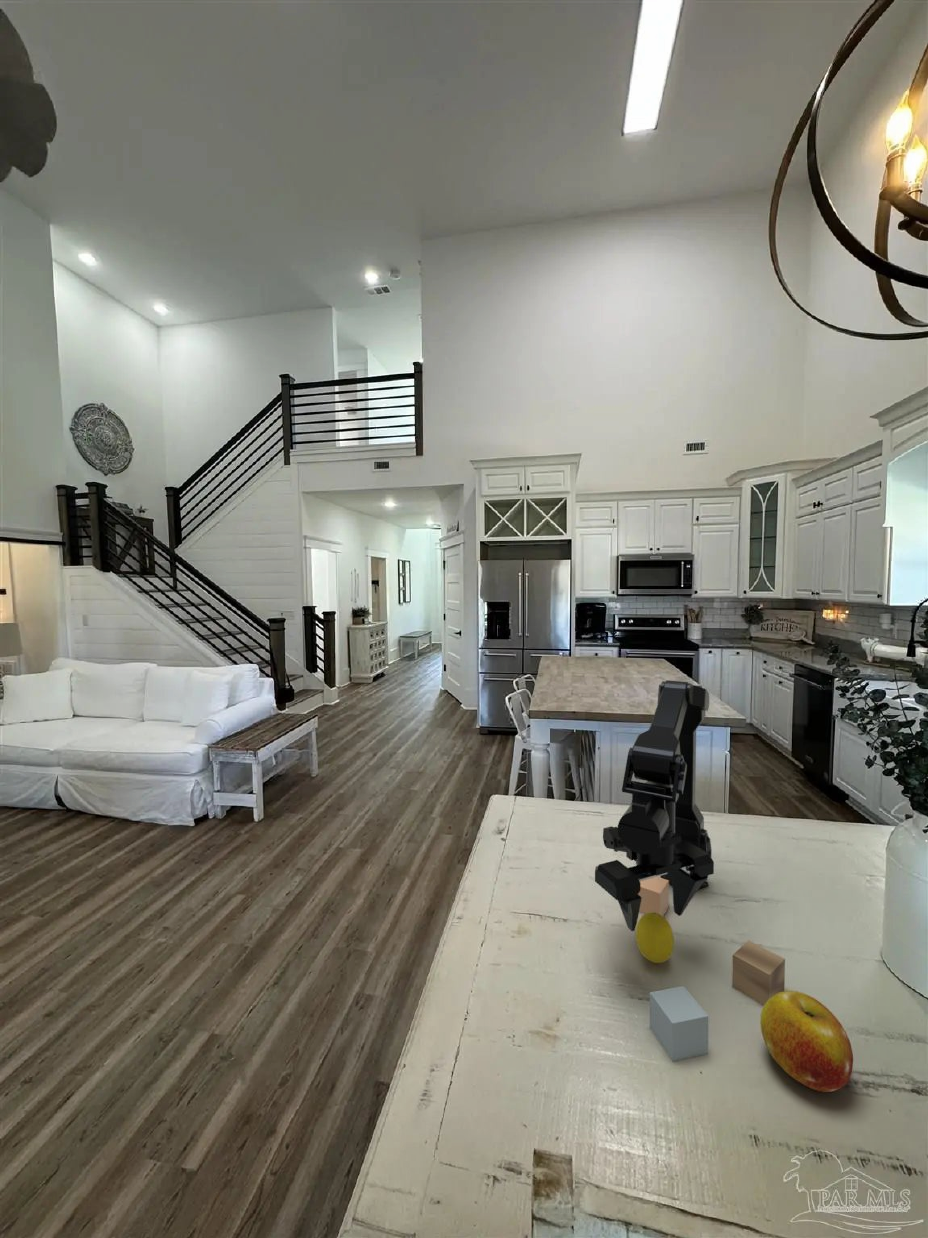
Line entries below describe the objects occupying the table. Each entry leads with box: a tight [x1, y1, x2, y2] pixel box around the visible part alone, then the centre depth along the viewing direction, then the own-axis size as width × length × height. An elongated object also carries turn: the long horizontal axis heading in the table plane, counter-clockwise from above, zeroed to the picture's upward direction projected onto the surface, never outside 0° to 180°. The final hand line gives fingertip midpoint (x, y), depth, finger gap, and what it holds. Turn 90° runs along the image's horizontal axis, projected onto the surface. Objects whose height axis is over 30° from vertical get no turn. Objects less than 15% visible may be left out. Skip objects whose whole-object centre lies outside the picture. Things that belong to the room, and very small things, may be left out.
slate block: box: [649, 985, 709, 1062], centre depth 66 cm, size 5×5×5 cm
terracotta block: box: [638, 876, 670, 917], centre depth 93 cm, size 5×5×5 cm
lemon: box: [635, 912, 675, 964], centre depth 79 cm, size 6×6×8 cm
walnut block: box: [731, 939, 786, 1007], centre depth 74 cm, size 5×5×5 cm
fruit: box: [759, 990, 854, 1093], centre depth 61 cm, size 10×9×8 cm
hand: (654, 921), depth 79 cm, fingers open, 9 cm apart
